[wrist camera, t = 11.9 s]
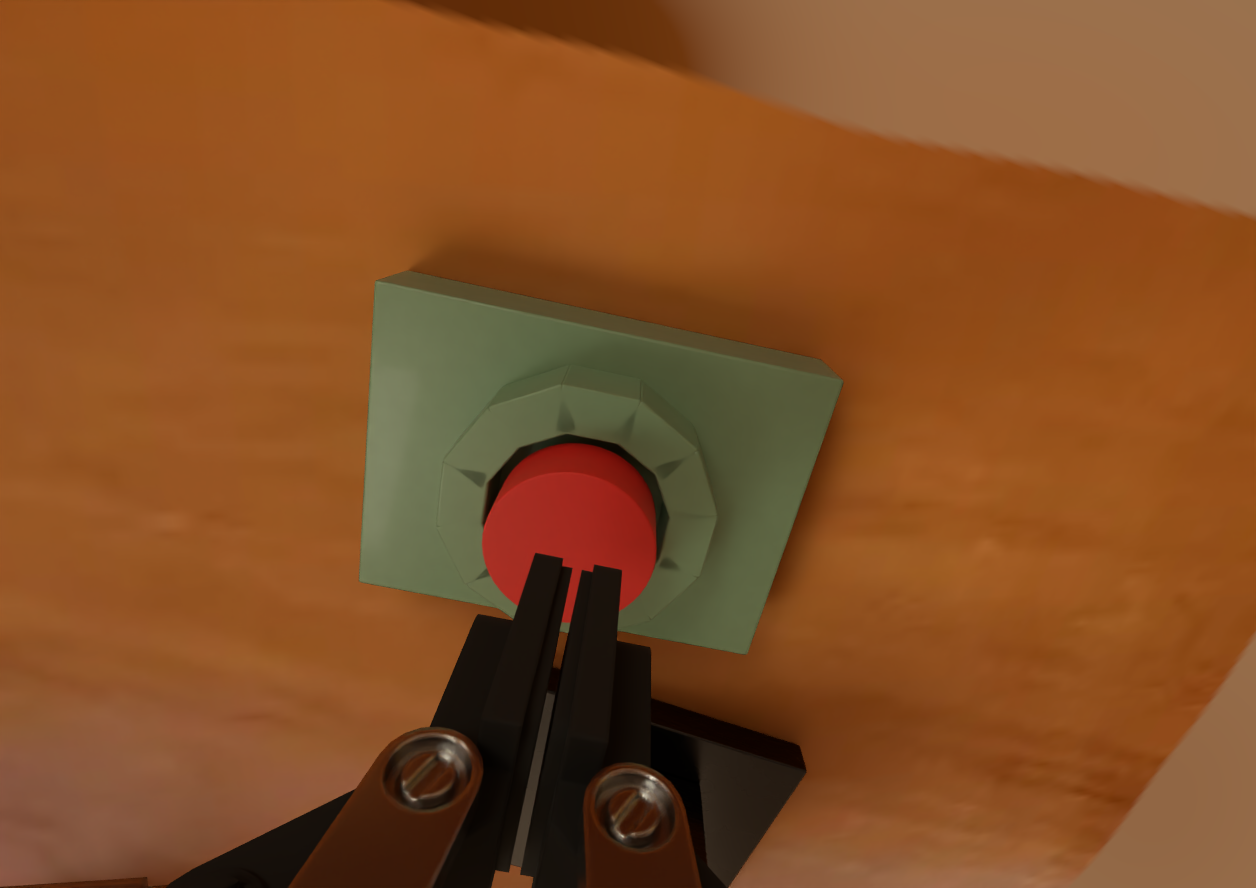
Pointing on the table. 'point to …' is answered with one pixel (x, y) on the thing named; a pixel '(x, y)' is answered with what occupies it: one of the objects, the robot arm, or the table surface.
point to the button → (572, 520)
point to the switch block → (589, 414)
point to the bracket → (703, 780)
